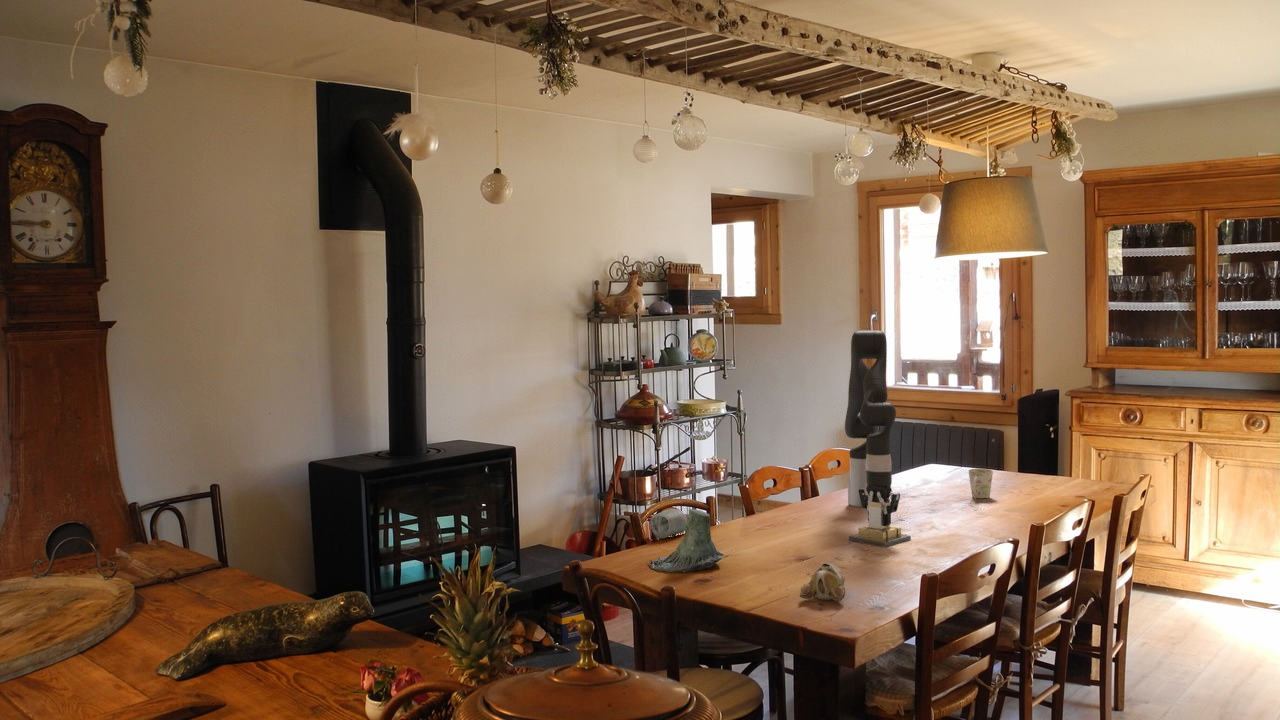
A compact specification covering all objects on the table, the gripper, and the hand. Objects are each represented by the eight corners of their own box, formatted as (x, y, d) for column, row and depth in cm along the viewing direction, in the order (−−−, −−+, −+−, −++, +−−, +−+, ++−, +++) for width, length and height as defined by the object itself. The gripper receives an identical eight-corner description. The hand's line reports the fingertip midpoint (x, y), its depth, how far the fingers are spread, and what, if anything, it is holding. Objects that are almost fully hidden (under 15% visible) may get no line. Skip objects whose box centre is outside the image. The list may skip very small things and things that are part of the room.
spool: (667, 532, 298) (661, 501, 303) (646, 542, 304) (640, 512, 308) (697, 535, 308) (690, 505, 312) (676, 545, 313) (670, 516, 318)
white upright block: (868, 534, 295) (868, 501, 295) (877, 531, 298) (877, 499, 298) (881, 536, 292) (880, 503, 291) (890, 534, 295) (889, 501, 294)
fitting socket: (848, 540, 296) (848, 528, 296) (875, 533, 304) (874, 521, 304) (884, 547, 286) (884, 534, 286) (910, 539, 294) (910, 527, 294)
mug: (995, 496, 358) (995, 469, 358) (987, 502, 348) (987, 474, 347) (972, 494, 363) (971, 468, 362) (963, 500, 352) (963, 473, 352)
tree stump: (652, 557, 283) (666, 497, 282) (719, 575, 280) (733, 514, 279) (643, 571, 264) (658, 507, 264) (715, 590, 262) (730, 525, 261)
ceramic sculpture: (852, 556, 241) (841, 575, 228) (853, 590, 242) (842, 611, 228) (810, 553, 245) (796, 572, 232) (811, 587, 246) (797, 607, 232)
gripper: (851, 467, 297) (852, 523, 298) (891, 472, 286) (892, 530, 287) (866, 464, 302) (867, 519, 303) (906, 469, 291) (906, 526, 292)
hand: (879, 524), depth 295 cm, fingers open, 4 cm apart
